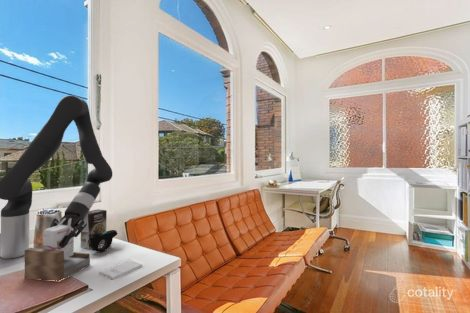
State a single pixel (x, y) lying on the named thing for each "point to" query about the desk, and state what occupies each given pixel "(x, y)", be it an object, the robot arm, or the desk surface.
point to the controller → (97, 237)
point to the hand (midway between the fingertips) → (54, 246)
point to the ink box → (58, 240)
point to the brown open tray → (53, 264)
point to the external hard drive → (120, 269)
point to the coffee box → (93, 226)
